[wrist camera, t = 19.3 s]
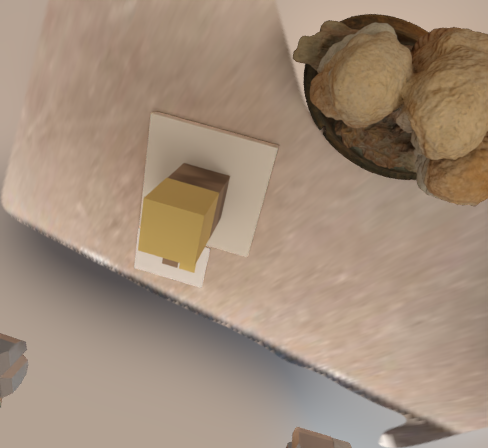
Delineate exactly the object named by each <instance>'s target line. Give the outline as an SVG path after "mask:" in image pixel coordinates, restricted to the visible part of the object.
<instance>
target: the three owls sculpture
mask: <svg viewBox="0 0 488 448" xmlns="http://www.w3.org/2000/svg"><path fill="white" fill-rule="evenodd" d="M293 59H294V60H295V61H296V62H300V63H305V70H304V91H305V97H306V102H307V105H308V109H309V111H310V113H311V115H312V117H313V120H314V122H315V124H316V125H317V126H318V128H319V130H321V129H322V128H323V126H325V127H326V135H325V133H323V135H324V136H325V138H326V139H327V140H328V141H329V143H330V144H331V145H332V146H333V147H334V148H335V149H336V150H337V151H338V152H339V153H341V154H342V155H343V156H344V157H346V158H347V159H349V160H350V161H351V162H353V163H354V164H356V165H358V166H360V167H361V168H364V169H365V170H368V171H370V172H372V173H375V174H379V175H382V176H385V177H389V178H395V179H403V180H410V179H413V180H416V179H417V184H418V186H419V188H420V189H421V190H423V191H424V192H425V193H426V194H427V195H431V196H433V197H435V198H440V199H441V200H445V201H448V202H450V203H455V204H457V205H471V206H476V205H477V204H479V203H480V202H482V201H484V200H486V199H487V198H488V34H484V33H481V32H474V31H472V30H470V29H461V28H455V27H453V28H439V29H433V30H432V31H431V32H427V31H426V30H424V29H422V28H421V27H418V26H417V25H415V24H412V23H410V22H407V21H405V20H402V19H399V18H395V17H391V16H386V15H376V14H368V15H359V16H354V17H351V18H347V19H345V20H343V21H340V22H338V21H330V20H329V21H326V22H324V23H323V25H322V26H321V29H320V32H318V33H316V34H315V35H313V36H310V37H309V36H302V37H301V38H300V40H299V43H298V47H297V49H296V50H295V51H294V54H293Z"/></svg>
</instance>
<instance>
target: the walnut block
mask: <svg viewBox="0 0 488 448" xmlns="http://www.w3.org/2000/svg"><path fill="white" fill-rule="evenodd" d="M168 178H170V179H173V180H177V181H180V182H184V183H187V184H191V185H194V186H198V187H201V188H205V189H208V190H211V191H215V192H218V193H219V196H218V201H217V205H216V210H215V214H214V219H213V224H212V228H211V233H210V237H211V236H212V234H213V232H214V230H215V228H216V226H217V224H218V223H219V221H220V219H221V215H222V211H223V206H224V202H225V198H226V193H227V189H228V184H229V180H230V176H229V175H225V174H222V173H218V172H215V171H211V170H207V169H204V168H200V167H197V166H193V165H190V164H186V163H183V164H182V165H181V166H180V167H179V168H178V169H177V170H175V171H174V172H173V173H172V174H171V175H170V176H169V177H168ZM210 237H209V239H210Z"/></svg>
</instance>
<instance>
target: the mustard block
mask: <svg viewBox="0 0 488 448" xmlns="http://www.w3.org/2000/svg"><path fill="white" fill-rule="evenodd" d="M218 196H219V193H218V192H215V191H211V190H208V189H205V188H201V187H198V186H194V185H191V184H187V183H184V182H180V181H177V180H173V179H170V178H166V179H164V180H163V181H162V182H161V183H160V184H159V185H158V186H157V187H155V188H154V189H153V190H152V191H151V192H150V193H149V194H148V195H146V196H145V197H144V199H143V208H142V217H141V227H140V236H139V245H138V251H142V252H145V253H148V254H152V255H155V256H158V257H162V258H165V259H168V260H172V261H175V262H178V263H182V264H185V265H188V266H192V267H194V266H195V264H196V262H197V261H198V259H199V257H200V255H201V253H202V251H203V250H204V248H205V246H206V244H207V242H208V240H209V237H210V233H211V228H212V224H213V219H214V214H215V210H216V205H217V201H218Z"/></svg>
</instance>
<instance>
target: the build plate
mask: <svg viewBox="0 0 488 448" xmlns="http://www.w3.org/2000/svg"><path fill="white" fill-rule="evenodd" d="M278 148H279V145H276V144H272V143H269V142H265V141H262V140H258V139H254V138H251V137H247V136H244V135H240V134H236V133H233V132H229V131H226V130H222V129H218V128H215V127H211V126H208V125H204V124H200V123H197V122H193V121H189V120H186V119H182V118H179V117H175V116H171V115H168V114H164V113H161V112H157V111H155V112H152V113H151V116H150V126H149V135H148V145H147V154H146V164H145V174H144V183H143V193H142V202H141V212H140V221H139V226H141V217H142V208H143V199H144V197H145V196H146V195H148V194H149V193H150V192H151V191H152V190H153V189H154V188H155V187H157V186H158V185H159V184H160V183H161V182H162V181H163V180H164V179H166V178H168V177H169V176H170V175H171V174H172V173H173V172H174V171H175V170H177V169H178V168H179V167H180V166H181V165H182V164H183V163H186V164H190V165H193V166H197V167H200V168H204V169H207V170H211V171H215V172H218V173H222V174H225V175H229V176H230V180H229V184H228V189H227V193H226V198H225V202H224V206H223V211H222V215H221V219H220V221H219V223H218V224H217V226H216V228H215V230H214V232H213V234H212V236H211V237H210V239H209V240H208V242H207V244H206V246H209V247H213V248H216V249H220V250H223V251H226V252H230V253H233V254H237V255H240V256H243V257H248V254H249V250H250V247H251V243H252V240H253V236H254V233H255V229H256V226H257V222H258V219H259V215H260V211H261V208H262V204H263V201H264V197H265V194H266V190H267V187H268V183H269V180H270V176H271V172H272V169H273V165H274V162H275V158H276V155H277V151H278Z"/></svg>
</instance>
